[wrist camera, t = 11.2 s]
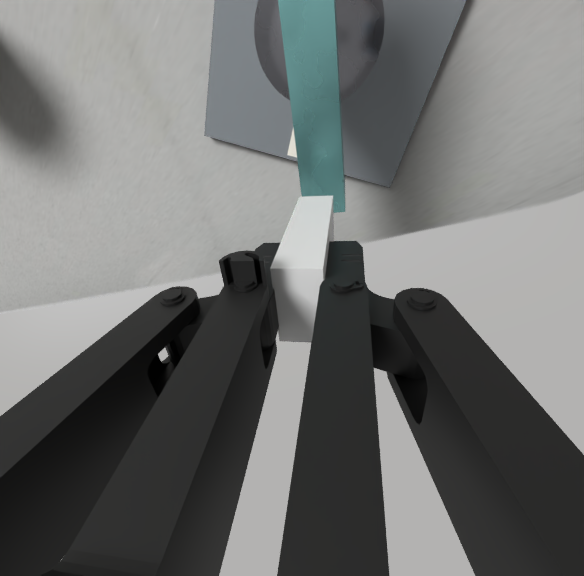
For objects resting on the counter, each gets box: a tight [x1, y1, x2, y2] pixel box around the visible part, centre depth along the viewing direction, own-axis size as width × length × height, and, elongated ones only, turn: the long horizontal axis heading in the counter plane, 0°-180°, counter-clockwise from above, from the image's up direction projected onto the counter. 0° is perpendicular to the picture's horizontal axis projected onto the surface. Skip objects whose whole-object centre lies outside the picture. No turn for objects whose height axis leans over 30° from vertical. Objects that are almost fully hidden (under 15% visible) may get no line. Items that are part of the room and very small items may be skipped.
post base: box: [204, 0, 466, 188], centre depth 26 cm, size 20×20×8 cm
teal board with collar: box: [254, 0, 385, 213], centre depth 19 cm, size 18×8×10 cm, turn 8°
